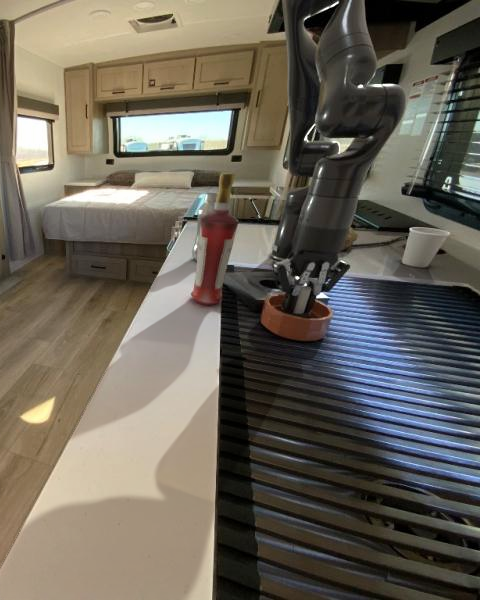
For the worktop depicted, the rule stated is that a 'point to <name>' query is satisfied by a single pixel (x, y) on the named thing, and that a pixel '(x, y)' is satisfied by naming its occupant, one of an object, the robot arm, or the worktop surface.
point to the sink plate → (257, 288)
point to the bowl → (296, 320)
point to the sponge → (350, 238)
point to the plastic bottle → (203, 211)
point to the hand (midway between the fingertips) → (296, 310)
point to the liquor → (215, 246)
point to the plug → (301, 303)
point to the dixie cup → (423, 245)
